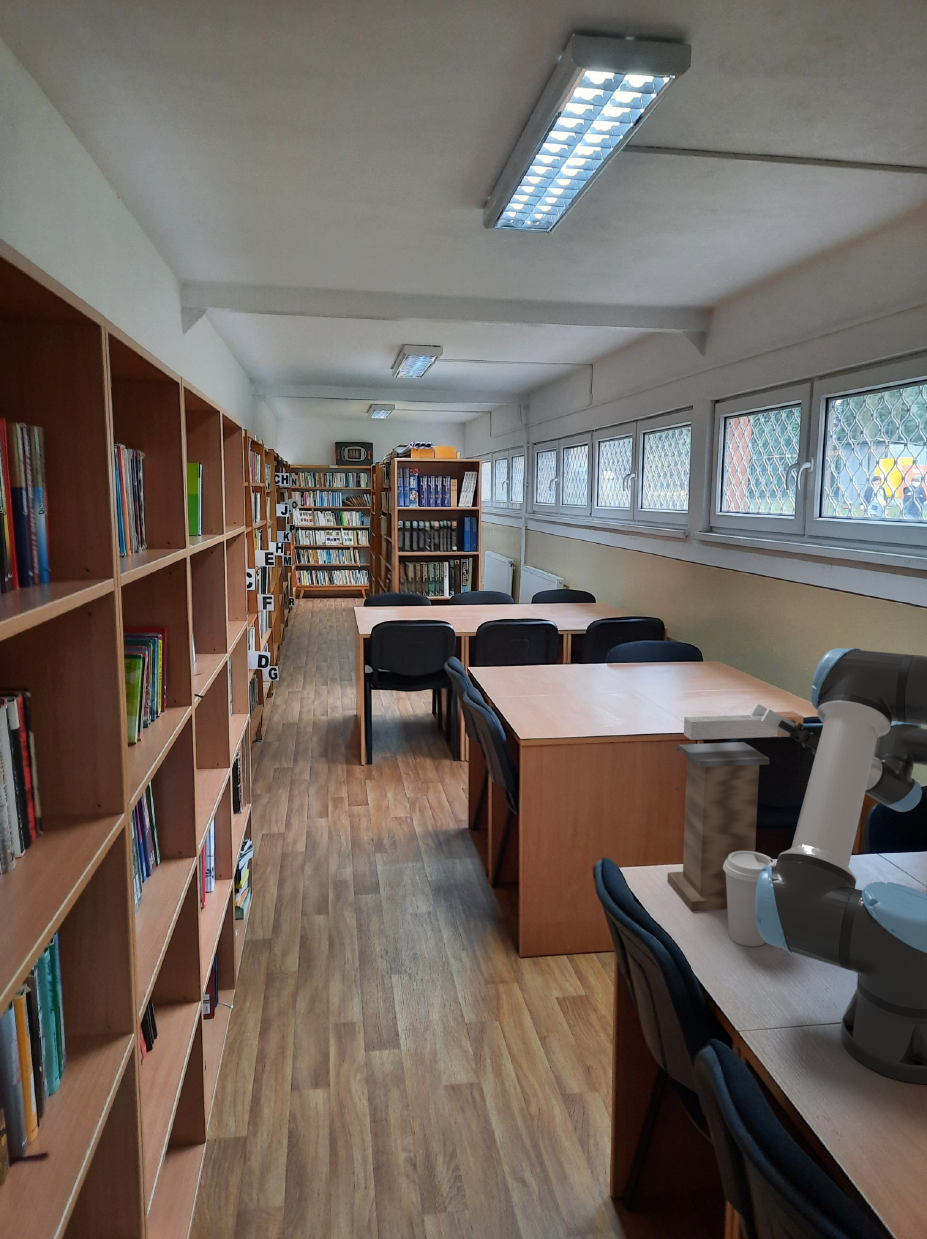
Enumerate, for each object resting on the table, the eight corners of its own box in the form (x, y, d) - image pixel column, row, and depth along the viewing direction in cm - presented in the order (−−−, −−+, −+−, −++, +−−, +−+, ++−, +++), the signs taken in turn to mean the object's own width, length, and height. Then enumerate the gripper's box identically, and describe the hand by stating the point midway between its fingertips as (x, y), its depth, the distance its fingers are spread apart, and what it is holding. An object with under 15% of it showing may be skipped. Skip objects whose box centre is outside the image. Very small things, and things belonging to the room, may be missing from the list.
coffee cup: (769, 956, 146) (773, 875, 144) (714, 942, 151) (717, 863, 149) (779, 932, 154) (783, 855, 152) (726, 919, 159) (729, 844, 157)
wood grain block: (792, 730, 169) (793, 711, 168) (802, 736, 165) (803, 716, 164) (683, 734, 166) (684, 715, 166) (691, 740, 162) (691, 720, 162)
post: (739, 877, 177) (746, 740, 173) (769, 906, 164) (776, 759, 160) (667, 881, 175) (672, 743, 171) (691, 911, 162) (697, 762, 158)
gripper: (866, 794, 161) (770, 739, 157) (819, 767, 178) (731, 717, 174) (887, 761, 161) (791, 705, 157) (837, 737, 177) (749, 686, 173)
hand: (759, 711), depth 165 cm, fingers closed on wood grain block, 4 cm apart
